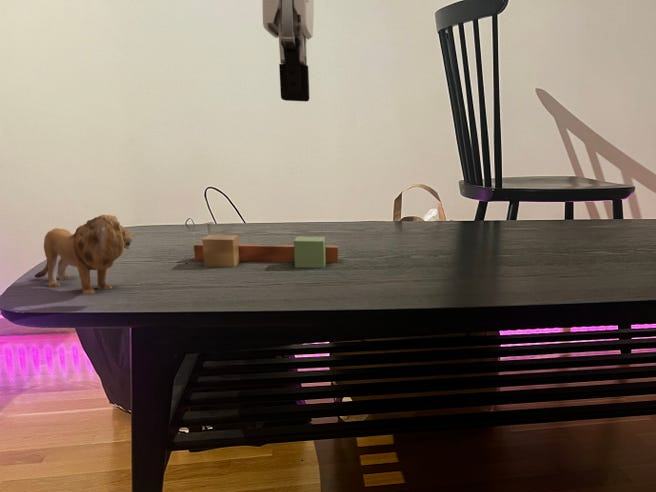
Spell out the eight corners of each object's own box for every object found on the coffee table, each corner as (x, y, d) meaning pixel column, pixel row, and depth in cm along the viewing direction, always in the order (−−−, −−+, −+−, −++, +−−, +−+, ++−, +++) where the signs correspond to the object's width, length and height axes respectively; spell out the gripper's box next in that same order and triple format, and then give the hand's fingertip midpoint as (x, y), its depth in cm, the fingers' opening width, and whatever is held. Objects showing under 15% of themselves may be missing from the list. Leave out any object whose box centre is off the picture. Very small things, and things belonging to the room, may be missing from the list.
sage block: (295, 269, 98) (293, 240, 97) (297, 263, 102) (296, 236, 100) (324, 269, 98) (323, 241, 97) (326, 264, 102) (325, 236, 101)
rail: (195, 262, 99) (193, 245, 99) (197, 260, 101) (195, 243, 100) (338, 264, 102) (337, 247, 102) (338, 262, 104) (338, 245, 103)
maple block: (204, 268, 96) (202, 239, 95) (210, 262, 100) (208, 234, 99) (234, 268, 97) (232, 239, 95) (240, 263, 100) (238, 235, 99)
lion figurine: (147, 291, 82) (138, 214, 80) (110, 300, 78) (99, 218, 75) (54, 277, 87) (43, 204, 84) (14, 285, 82) (0, 208, 79)
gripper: (263, -60, 85) (271, 101, 91) (241, -96, 71) (253, 97, 77) (326, -55, 86) (330, 103, 92) (317, -90, 72) (322, 100, 78)
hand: (295, 100), depth 84 cm, fingers closed
